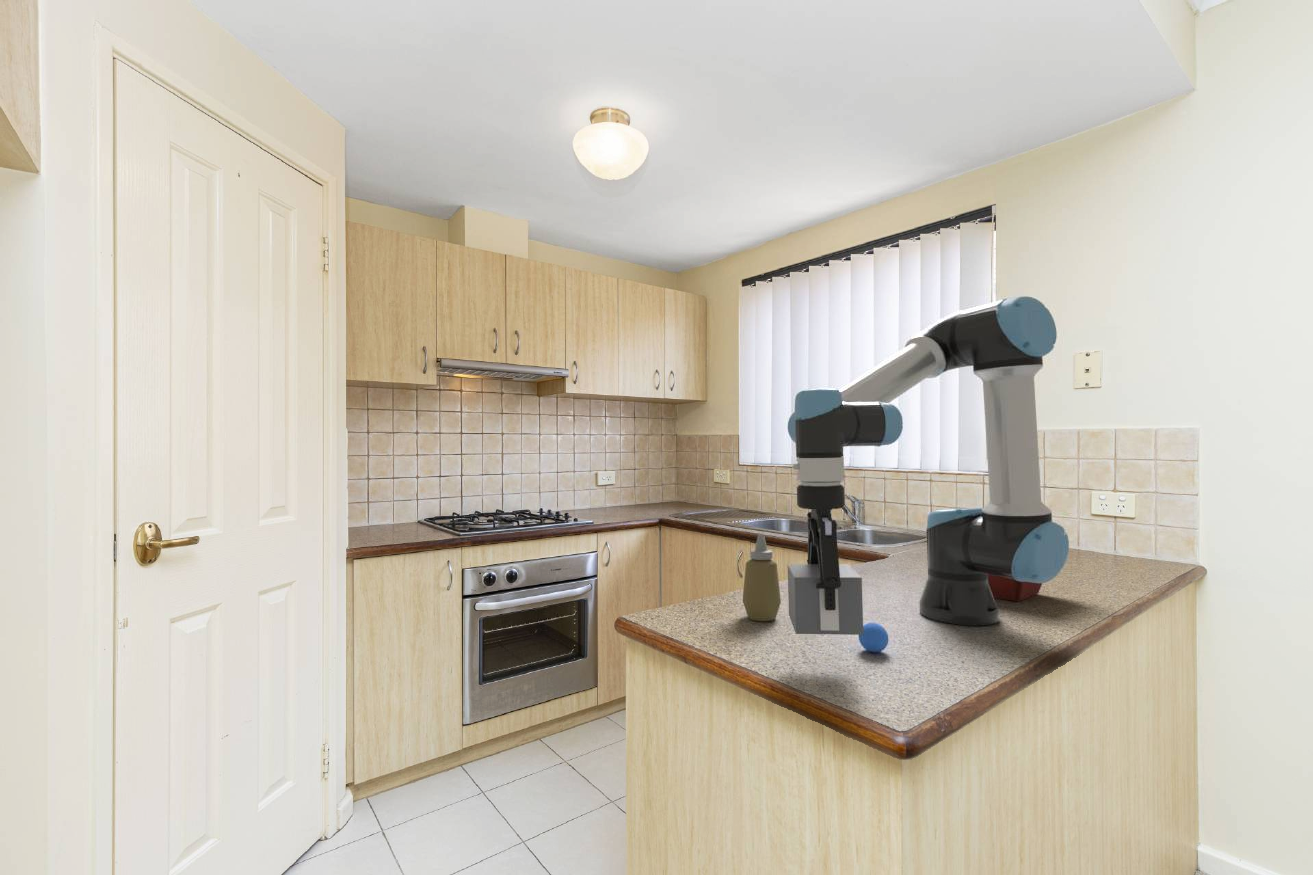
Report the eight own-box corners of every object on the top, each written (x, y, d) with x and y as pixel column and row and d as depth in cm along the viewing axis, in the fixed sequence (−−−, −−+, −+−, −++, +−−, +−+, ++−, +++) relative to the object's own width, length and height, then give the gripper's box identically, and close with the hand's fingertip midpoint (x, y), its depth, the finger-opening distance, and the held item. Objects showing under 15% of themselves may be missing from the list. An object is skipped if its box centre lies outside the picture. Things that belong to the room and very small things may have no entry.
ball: (884, 647, 107) (884, 619, 107) (892, 656, 102) (891, 627, 103) (856, 646, 108) (855, 618, 108) (862, 655, 103) (861, 627, 103)
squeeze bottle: (781, 624, 121) (780, 536, 122) (741, 622, 123) (740, 535, 123) (780, 614, 129) (780, 531, 130) (743, 612, 131) (743, 530, 131)
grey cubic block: (849, 615, 101) (848, 563, 101) (863, 634, 91) (861, 577, 91) (788, 614, 102) (787, 564, 103) (795, 633, 92) (794, 577, 92)
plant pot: (942, 592, 149) (941, 524, 149) (977, 581, 160) (976, 519, 161) (1026, 607, 134) (1025, 533, 134) (1058, 594, 145) (1057, 526, 146)
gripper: (789, 479, 109) (792, 600, 109) (806, 489, 86) (810, 642, 86) (831, 478, 108) (834, 600, 108) (859, 488, 85) (863, 642, 85)
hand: (823, 619), depth 97 cm, fingers closed on grey cubic block, 10 cm apart
